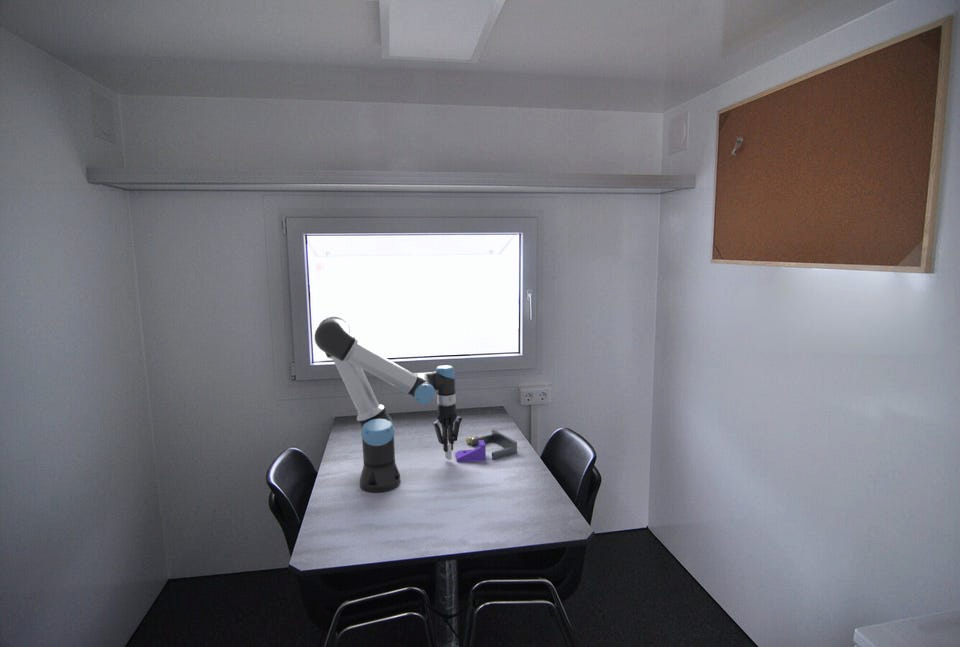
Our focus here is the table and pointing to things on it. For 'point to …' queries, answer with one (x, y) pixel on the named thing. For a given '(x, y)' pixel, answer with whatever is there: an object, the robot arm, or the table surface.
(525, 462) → the table surface
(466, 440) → the brass key
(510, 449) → the dock
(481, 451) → the bracket
